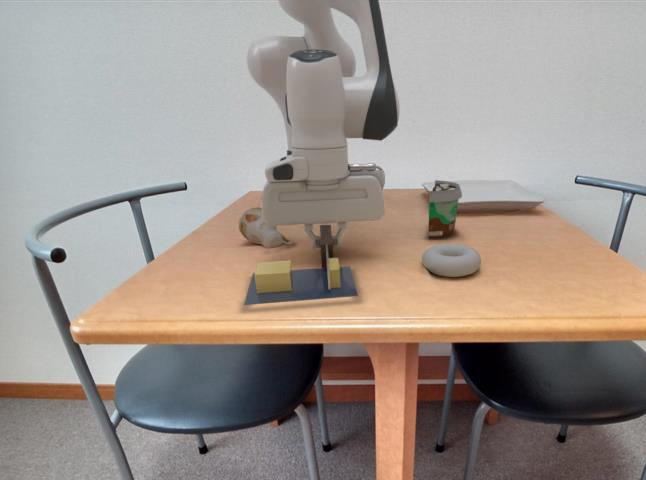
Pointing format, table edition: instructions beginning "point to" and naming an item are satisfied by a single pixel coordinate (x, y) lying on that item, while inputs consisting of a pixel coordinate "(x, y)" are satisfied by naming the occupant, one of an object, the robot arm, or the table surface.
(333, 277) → the butter slice
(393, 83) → the robot arm
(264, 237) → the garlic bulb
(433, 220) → the food container
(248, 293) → the butter dish
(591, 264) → the table surface
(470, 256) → the donut
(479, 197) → the square plate
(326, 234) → the knife
